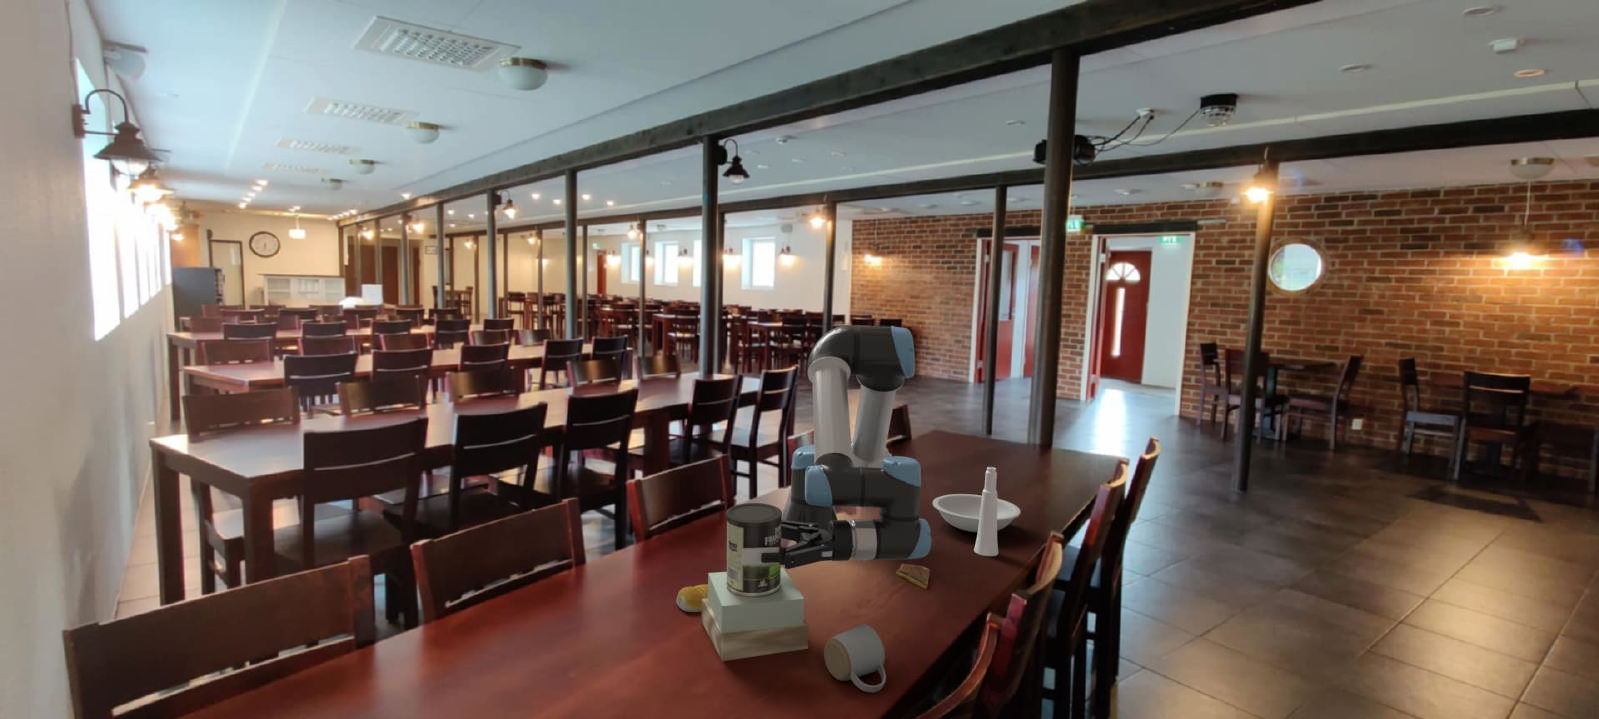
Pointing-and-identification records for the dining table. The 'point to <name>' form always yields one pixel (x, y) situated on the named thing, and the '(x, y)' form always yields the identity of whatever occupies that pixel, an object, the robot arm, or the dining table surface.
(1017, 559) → the dining table surface
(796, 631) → the birch block
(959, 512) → the soup bowl
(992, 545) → the cosmetic bottle
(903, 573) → the brown sandwich half
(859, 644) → the ceramic mug
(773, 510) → the coffee can
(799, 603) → the sage block
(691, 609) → the bread roll
